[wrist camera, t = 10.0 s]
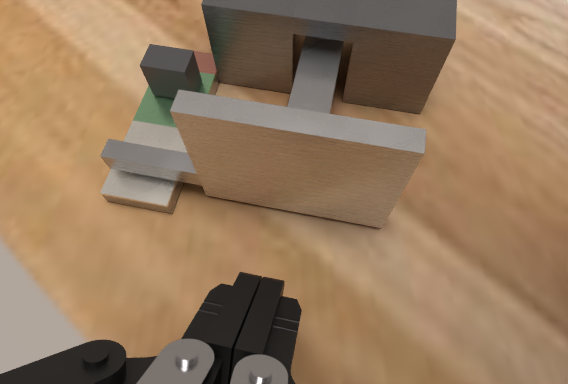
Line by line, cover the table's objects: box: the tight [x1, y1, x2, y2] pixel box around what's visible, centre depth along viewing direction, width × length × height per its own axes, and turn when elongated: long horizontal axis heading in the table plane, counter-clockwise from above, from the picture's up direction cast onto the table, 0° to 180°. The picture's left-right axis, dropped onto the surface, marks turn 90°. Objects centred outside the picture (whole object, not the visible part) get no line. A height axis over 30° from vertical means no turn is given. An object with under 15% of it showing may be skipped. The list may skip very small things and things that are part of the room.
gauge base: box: [100, 0, 457, 214], centre depth 21 cm, size 16×14×6 cm
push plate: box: [100, 36, 426, 228], centre depth 20 cm, size 14×11×7 cm
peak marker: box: [140, 44, 202, 98], centre depth 22 cm, size 2×2×2 cm, turn 78°
